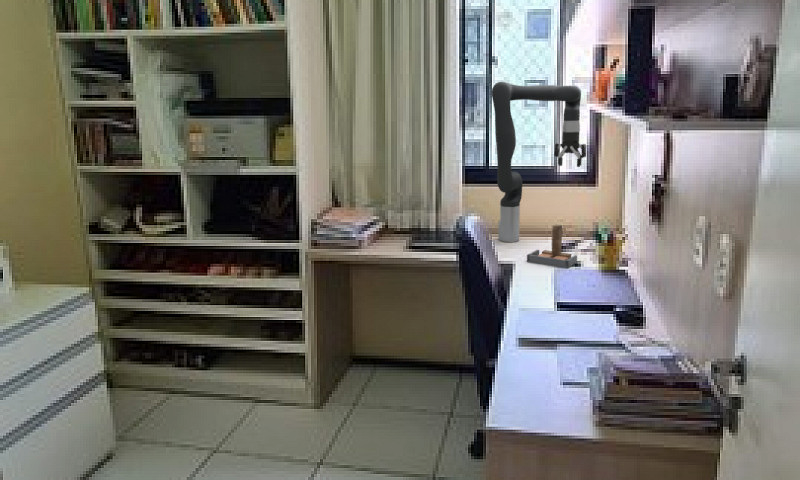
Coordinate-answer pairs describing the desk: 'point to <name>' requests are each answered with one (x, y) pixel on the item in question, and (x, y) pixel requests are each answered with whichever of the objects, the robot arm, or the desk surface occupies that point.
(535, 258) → the box
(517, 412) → the desk surface
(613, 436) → the desk surface
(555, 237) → the wooden peg stand
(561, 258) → the tile
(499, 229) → the robot arm
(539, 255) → the tile
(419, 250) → the desk surface
